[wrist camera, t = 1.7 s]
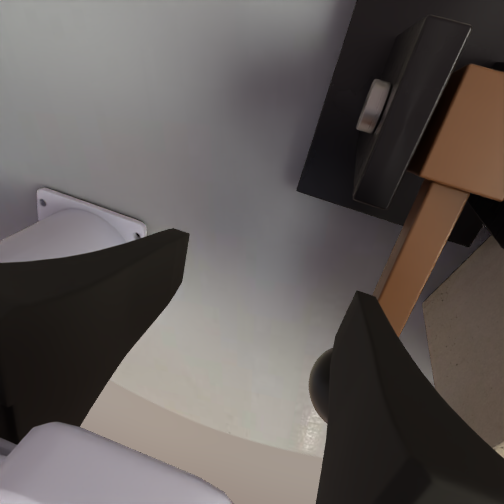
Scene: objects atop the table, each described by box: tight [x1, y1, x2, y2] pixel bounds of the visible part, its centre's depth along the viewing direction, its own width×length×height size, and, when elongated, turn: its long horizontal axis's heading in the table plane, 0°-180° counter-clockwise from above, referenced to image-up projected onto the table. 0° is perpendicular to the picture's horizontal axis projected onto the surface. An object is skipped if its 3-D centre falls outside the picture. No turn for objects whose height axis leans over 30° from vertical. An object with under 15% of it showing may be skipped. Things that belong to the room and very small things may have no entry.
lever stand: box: [296, 0, 504, 249], centre depth 13 cm, size 11×9×10 cm
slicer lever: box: [309, 64, 504, 424], centre depth 12 cm, size 12×3×3 cm, turn 166°
